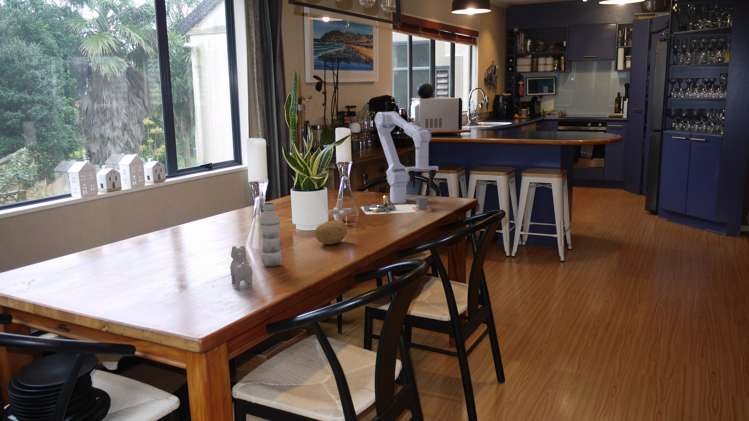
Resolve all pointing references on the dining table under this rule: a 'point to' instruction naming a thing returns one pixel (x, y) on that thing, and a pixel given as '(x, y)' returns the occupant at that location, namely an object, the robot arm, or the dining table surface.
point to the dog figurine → (240, 267)
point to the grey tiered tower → (270, 236)
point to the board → (401, 209)
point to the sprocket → (380, 207)
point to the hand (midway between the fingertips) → (422, 187)
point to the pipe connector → (339, 210)
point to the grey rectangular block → (421, 202)
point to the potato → (331, 232)
